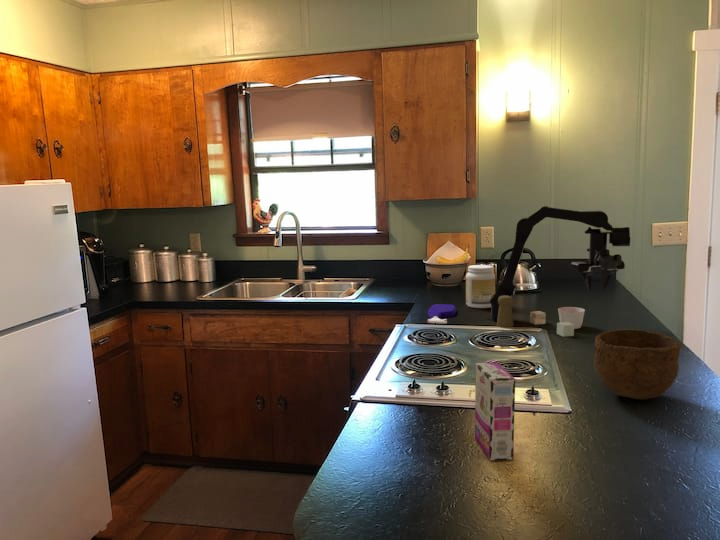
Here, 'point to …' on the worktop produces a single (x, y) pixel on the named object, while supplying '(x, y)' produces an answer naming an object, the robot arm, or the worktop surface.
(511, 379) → the candy bar box
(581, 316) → the candle
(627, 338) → the bowl
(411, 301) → the worktop surface
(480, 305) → the supplement tub
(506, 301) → the cork
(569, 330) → the sage block
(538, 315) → the birch block
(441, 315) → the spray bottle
